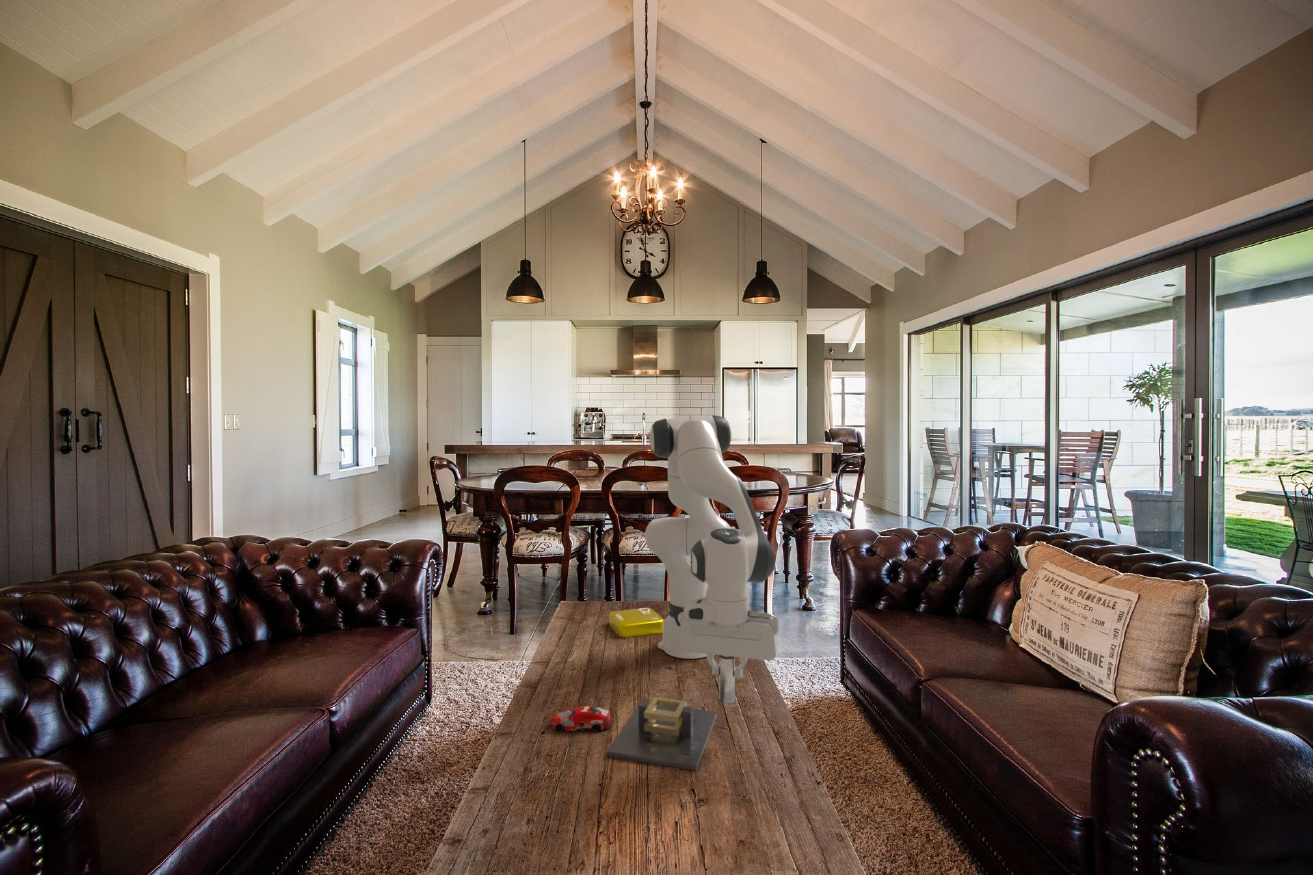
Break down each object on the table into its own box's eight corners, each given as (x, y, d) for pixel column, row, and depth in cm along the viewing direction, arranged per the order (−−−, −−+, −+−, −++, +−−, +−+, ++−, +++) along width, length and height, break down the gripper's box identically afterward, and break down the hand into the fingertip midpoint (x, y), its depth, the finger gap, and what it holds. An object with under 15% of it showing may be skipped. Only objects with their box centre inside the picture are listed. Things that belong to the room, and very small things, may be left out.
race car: (548, 733, 127) (548, 714, 127) (553, 720, 132) (553, 703, 132) (609, 733, 127) (609, 715, 126) (612, 721, 132) (611, 703, 132)
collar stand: (641, 705, 138) (641, 680, 138) (716, 716, 133) (716, 689, 133) (607, 756, 117) (607, 725, 117) (696, 770, 112) (696, 738, 112)
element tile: (607, 624, 197) (607, 610, 197) (649, 619, 202) (649, 605, 202) (620, 639, 183) (620, 624, 183) (665, 633, 188) (665, 618, 188)
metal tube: (720, 694, 124) (720, 638, 124) (736, 696, 123) (736, 640, 123) (717, 702, 121) (717, 644, 120) (734, 704, 120) (734, 646, 120)
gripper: (779, 608, 122) (779, 674, 122) (683, 600, 127) (683, 663, 128) (777, 618, 116) (777, 688, 116) (676, 609, 121) (676, 675, 122)
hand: (727, 675), depth 122 cm, fingers closed on metal tube, 3 cm apart
